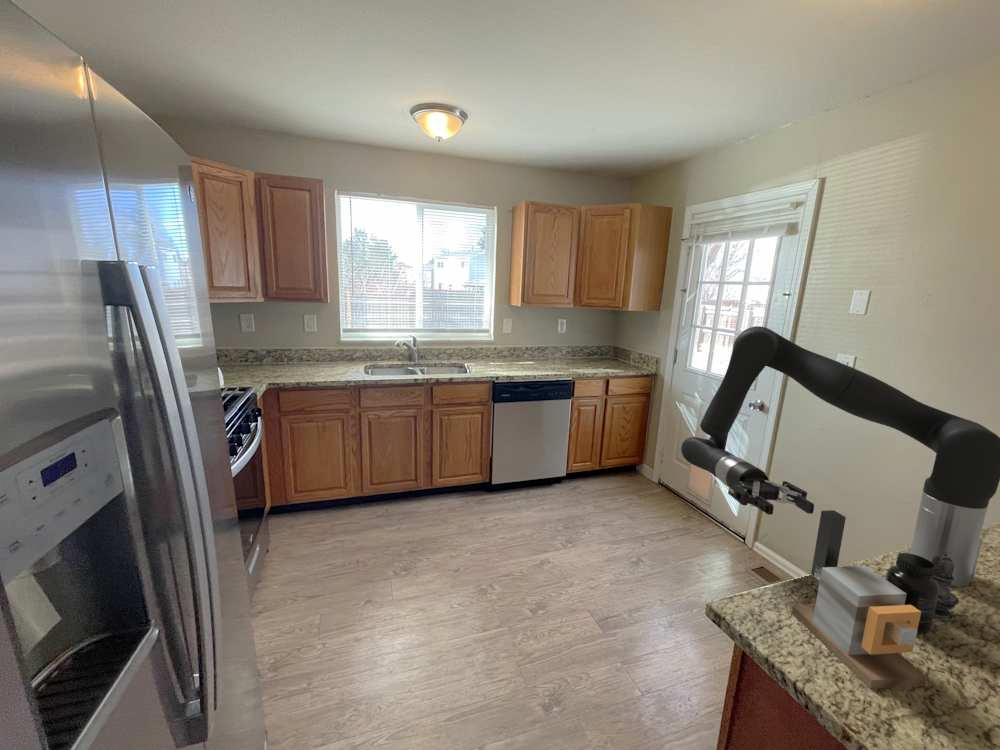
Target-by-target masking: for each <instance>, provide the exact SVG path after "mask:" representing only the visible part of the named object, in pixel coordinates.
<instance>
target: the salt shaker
mask: <svg viewBox="0 0 1000 750" xmlns="http://www.w3.org/2000/svg"><path fill="white" fill-rule="evenodd" d="M942 554H943V555H935V556H933V559H932V563H933V564H934V565H935V570H934V577H933V578H934V579H935V580H936V581H937V583H938V584H939V587H940V589H939V595H938V600H937V605H936V610H935V615H934V619H938V620H942V621H951V620H953V618H954V617H953V614H952V613H951V610H953V609H954V608H955V607H956V605H959V603H960V600H959V598H958V597H957V595H955V593H952V592H951V587H952V586H951V582H952V581H954V580H955V579H954V577H953V576H952V574H953V570H954V566H955V563H954V561H953V560H952V559H950V558H949V557H947V553H946V552H944V553H942Z"/></svg>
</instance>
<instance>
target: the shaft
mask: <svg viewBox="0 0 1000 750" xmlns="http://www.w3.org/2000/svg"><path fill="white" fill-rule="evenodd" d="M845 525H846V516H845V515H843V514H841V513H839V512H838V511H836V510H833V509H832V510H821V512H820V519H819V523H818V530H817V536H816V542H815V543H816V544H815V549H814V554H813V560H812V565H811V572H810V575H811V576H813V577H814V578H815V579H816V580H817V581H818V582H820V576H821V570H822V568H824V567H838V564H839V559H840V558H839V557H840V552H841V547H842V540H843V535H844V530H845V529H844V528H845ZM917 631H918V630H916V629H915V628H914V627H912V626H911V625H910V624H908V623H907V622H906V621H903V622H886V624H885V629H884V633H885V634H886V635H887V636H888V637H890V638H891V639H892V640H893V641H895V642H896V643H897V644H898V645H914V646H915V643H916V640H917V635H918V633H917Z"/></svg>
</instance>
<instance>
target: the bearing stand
mask: <svg viewBox="0 0 1000 750" xmlns="http://www.w3.org/2000/svg"><path fill="white" fill-rule="evenodd" d="M817 588H818V589H817V593H816V594H817V595H816V600H815V601H816V602H815V604H803V605H802V604H801V605H792V608H791V614H792V616H794V617H795V618H796V619H797V620H798V621H799V622H800V623H801V624H802V625H804V627H806V629H808V631H810V633H812V634H813V635H814V636H815V637H816V638H817V639H818V640H819V641H820V642H821V643H822V644H823V645H824V646H825V647H826V648H827V649H828V650H829V651H831V653H832V654H833V655H834V656H835V657H836V658H838V659H839V660H840V661H841V662H842V663H843V664H844V665H845V666H846V667H847V668H848V670H849V671H851V672H852V673H853V674H854V675H855V676H856V677H857V678H858V679H859V680H860V681H861V682H862V683H863V684H864V685H865V686H866V687H867V688H868V689H870V690H873V689H874V690H875V689H889V688H902V687H903V688H905V687H916V686H917V687H921V686H926V682H927V678H928V676H927V675H926V674H925V673H923V672H922V671H920V669H919V668H917V667H916V666H915V665H913V663H911V662H910V661H909V660H908V659H906V658H905V657H903V656H902V655H901V653H889V654H873V655H870V654H869V653H868V652H867V651H866V650H864V649H863V648H862V647H861V645H862V640H863V635H864V629H865V624H866V619H867V614H868V609H869V607H875V606H895V605H904V604H905V600H906V595H907V594H906V593H905V592H903V591H902V590H900V589H899V588H897V587H896V586H894V585H893V584H892V583H890V582H889V581H887V580H886V578H884V577H882V576H881V575H880V574H878V573H877V572H875V571H874V570H872V569H870V568H869V567H867V566H866V565H856V566H855V565H854V566H853V565H851V566H837V567H824V568H822V570H821V576H820V581H818V587H817ZM883 637H888V636H887V635H886V634H885V633H884V634H883Z"/></svg>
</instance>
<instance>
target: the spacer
mask: <svg viewBox="0 0 1000 750" xmlns="http://www.w3.org/2000/svg"><path fill="white" fill-rule="evenodd" d="M920 616H921V611H919V610H918V609H916V608H915V607H914V606H912V605H895V606H875V607H869V609H868V614H867V619H866V624H865V629H864V635H863V640H862V645H861V647H862V648H863V649H864V650H866V651H867V652H868V653H869V654H870V655H873V654H889V653H899V654H901V653H902V654H903V653H913V652H914V647H915V644H914V645H898V644H897V643H896V642H895V641H893V640H892V639H891V638H890V637H883V634H884V629H885V624H886V622H903V621H906V622H907V623H908V624H910V625H911V626H912V627H914V628H915V629H916V630H917V629H918V625H919V620H920Z"/></svg>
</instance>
